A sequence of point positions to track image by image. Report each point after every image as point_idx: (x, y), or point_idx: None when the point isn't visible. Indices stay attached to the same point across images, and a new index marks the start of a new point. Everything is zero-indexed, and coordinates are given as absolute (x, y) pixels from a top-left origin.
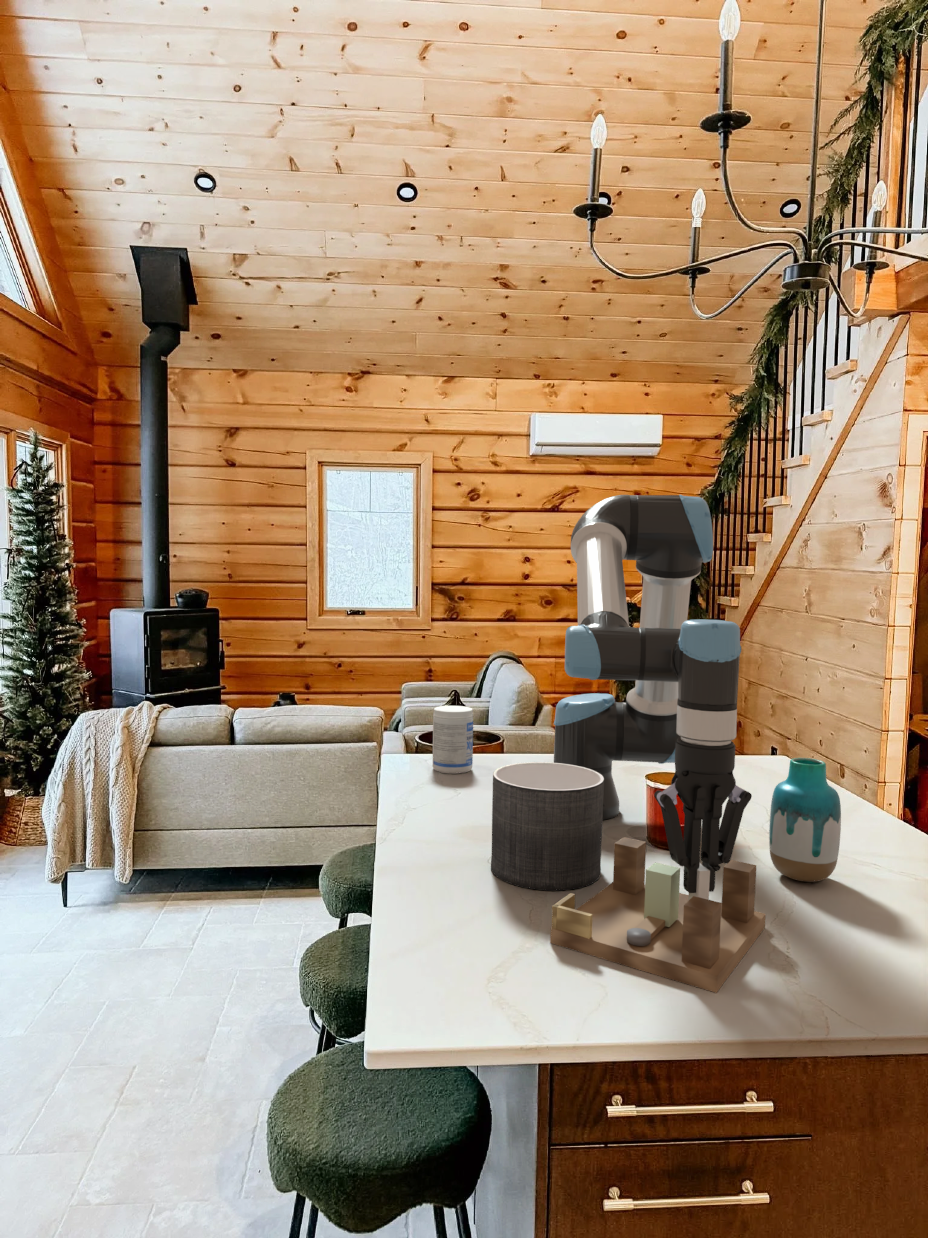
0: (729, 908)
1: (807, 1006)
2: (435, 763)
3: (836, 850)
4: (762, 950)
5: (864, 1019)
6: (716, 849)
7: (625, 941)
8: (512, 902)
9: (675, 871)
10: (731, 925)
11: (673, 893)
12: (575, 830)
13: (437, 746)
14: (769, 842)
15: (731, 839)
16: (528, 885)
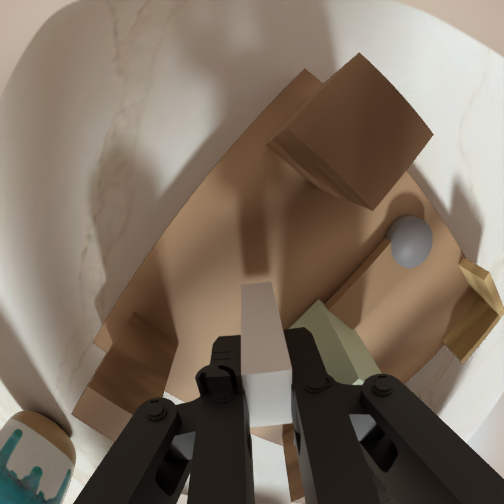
0: (159, 346)
1: (148, 37)
2: None
3: (2, 428)
4: (129, 245)
5: (89, 19)
6: (205, 454)
7: None
8: (445, 391)
9: None
10: (169, 305)
11: (321, 355)
12: (387, 499)
13: None
14: (72, 472)
15: (111, 486)
16: None
